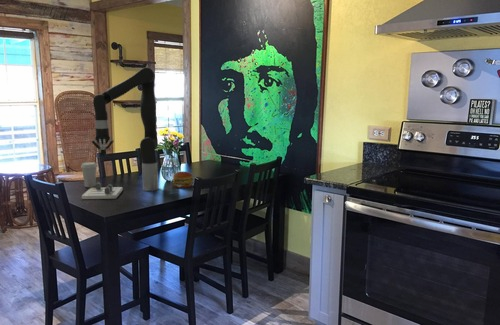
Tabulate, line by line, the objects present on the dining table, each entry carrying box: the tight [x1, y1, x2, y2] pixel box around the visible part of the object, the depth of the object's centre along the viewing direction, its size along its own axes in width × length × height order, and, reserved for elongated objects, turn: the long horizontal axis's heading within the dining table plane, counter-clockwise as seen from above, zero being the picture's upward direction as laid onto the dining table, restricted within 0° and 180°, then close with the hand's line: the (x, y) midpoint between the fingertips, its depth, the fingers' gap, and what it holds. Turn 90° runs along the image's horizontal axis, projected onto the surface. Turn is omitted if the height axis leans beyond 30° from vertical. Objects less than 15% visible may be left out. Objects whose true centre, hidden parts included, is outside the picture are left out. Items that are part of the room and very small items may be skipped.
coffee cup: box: [80, 161, 98, 188], centre depth 269 cm, size 10×10×15 cm
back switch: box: [95, 181, 102, 189], centre depth 254 cm, size 2×3×4 cm
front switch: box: [105, 185, 110, 194], centre depth 243 cm, size 2×3×4 cm
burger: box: [172, 171, 194, 189], centre depth 270 cm, size 14×14×10 cm
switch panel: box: [81, 186, 123, 200], centre depth 249 cm, size 19×20×2 cm
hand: (103, 155), depth 255 cm, fingers closed
